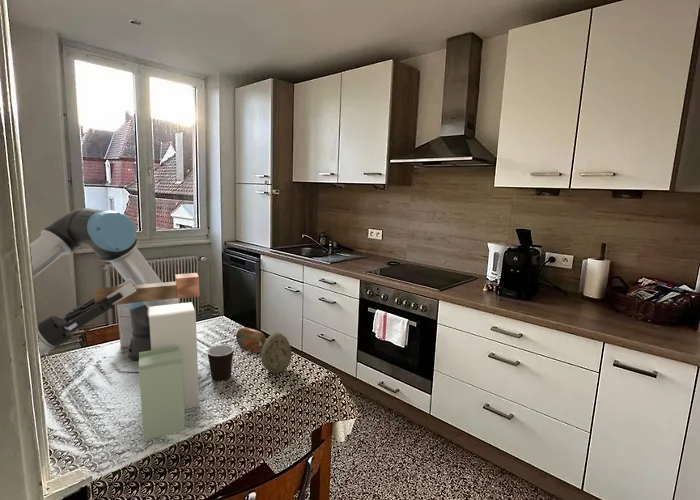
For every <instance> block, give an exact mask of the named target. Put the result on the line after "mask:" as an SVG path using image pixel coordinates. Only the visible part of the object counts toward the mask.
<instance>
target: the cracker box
mask: <svg viewBox="0 0 700 500" xmlns="http://www.w3.org/2000/svg"><path fill="white" fill-rule="evenodd" d="M116 312H117V313H116V314H117V321H118V331H119V342H120V348H123V349H125V348H128V349H129V346H130V342H131V339H132V327H131V314H130V303H127V304H118V305H116Z"/></svg>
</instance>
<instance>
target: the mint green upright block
mask: <svg viewBox="0 0 700 500" xmlns="http://www.w3.org/2000/svg"><path fill="white" fill-rule="evenodd" d="M138 375H139V376H138V377H139V391H140V392H139V393H140V405H141V421H142V433H143V435H142V436H143V441H144V442H145V441H148V440H152V439H156V438H159V437H160V438H161V437H164V436H167V435H171V434H175V433H180V432H183V431H185V430H186V425H185V409H184V400H183V379H182V359H181V357H180V352H179V346H176V347H170V348H164V349H158V350H151V351H145V352H139V361H138Z"/></svg>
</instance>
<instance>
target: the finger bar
mask: <svg viewBox="0 0 700 500" xmlns="http://www.w3.org/2000/svg"><path fill="white" fill-rule="evenodd" d="M174 277H175V281H165V282H164V281H162V283H152V284H140V285H133V287H134V288H135V289H136V292H134V293H132V294H130V295H129V296H127V297H125V298H124V299H122V300H120V301H119V302H117V303H115V304H114V305H113V304H112V305H113V306H117V305H118V304H127V303H137V302H146V301H155V300H165V299H174V298H178V299H185V298H186V299H187V298H188V299H189V298H199V297H201V296H200V293H201V292H200V276H199V274H198V272H191V273H190V272H189V273H178V274H174ZM117 286H118V285H117ZM117 286H109V287H95V289H94V292H93V298H94V299H95V304H96V303H98V302H100V301H101V300H103V299H105V298H107V296H108V295H110V294H112V293H113V292H115V291H117V290H118V289H120V288H122V287H123V286H118V287H117ZM107 299H108V298H107Z"/></svg>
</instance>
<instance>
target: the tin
mask: <svg viewBox="0 0 700 500" xmlns="http://www.w3.org/2000/svg"><path fill="white" fill-rule="evenodd" d="M235 337H236V342H237V344H238V346H239V347H240V348H242V349H243V350H247V351H251V352H253V353H256V354H257V353H260V352H262V348H263V345H264V343H265V341H266V340H267V338H266V336H265V334H264V333H263V332H262V331H260V330H257V329H254V328H249V327H242V328H239V329H238V330H237V331H236V336H235Z"/></svg>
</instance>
